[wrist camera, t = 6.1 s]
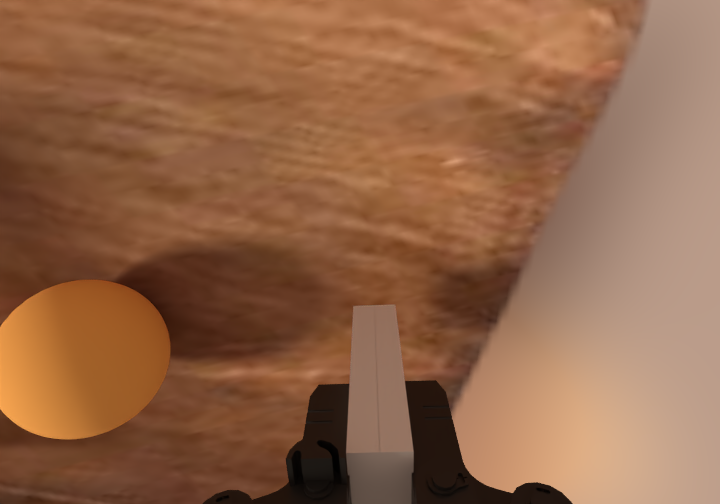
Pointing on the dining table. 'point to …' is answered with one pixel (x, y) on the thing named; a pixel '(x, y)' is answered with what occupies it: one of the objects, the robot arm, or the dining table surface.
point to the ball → (81, 359)
